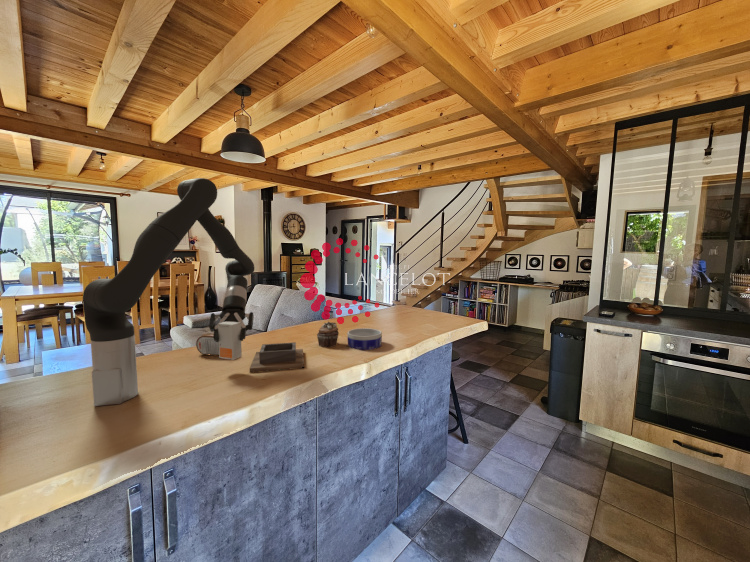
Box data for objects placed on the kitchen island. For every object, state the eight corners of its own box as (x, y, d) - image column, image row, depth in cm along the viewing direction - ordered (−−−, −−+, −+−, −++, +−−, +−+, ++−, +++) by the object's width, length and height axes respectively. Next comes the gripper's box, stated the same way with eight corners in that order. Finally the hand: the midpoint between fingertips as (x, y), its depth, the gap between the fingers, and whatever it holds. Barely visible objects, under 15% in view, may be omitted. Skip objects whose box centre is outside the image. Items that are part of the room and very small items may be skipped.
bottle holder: (303, 368, 109) (303, 352, 108) (249, 372, 104) (249, 356, 104) (303, 352, 126) (302, 339, 126) (256, 355, 122) (256, 342, 121)
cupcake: (323, 340, 144) (323, 319, 143) (342, 342, 141) (342, 321, 140) (312, 346, 135) (312, 324, 134) (332, 348, 132) (332, 325, 131)
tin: (235, 354, 124) (234, 333, 123) (231, 357, 120) (230, 335, 120) (200, 353, 125) (199, 332, 124) (195, 355, 122) (194, 334, 121)
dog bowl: (355, 339, 147) (355, 326, 147) (385, 342, 143) (385, 329, 142) (341, 348, 133) (341, 334, 132) (375, 351, 128) (375, 337, 128)
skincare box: (218, 358, 103) (217, 323, 102) (227, 354, 107) (226, 320, 106) (233, 360, 101) (232, 324, 101) (242, 356, 106) (241, 322, 105)
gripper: (211, 294, 108) (202, 335, 98) (254, 294, 112) (250, 333, 101) (215, 307, 114) (207, 347, 103) (256, 306, 117) (253, 344, 107)
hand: (229, 340), depth 102 cm, fingers closed on skincare box, 7 cm apart
